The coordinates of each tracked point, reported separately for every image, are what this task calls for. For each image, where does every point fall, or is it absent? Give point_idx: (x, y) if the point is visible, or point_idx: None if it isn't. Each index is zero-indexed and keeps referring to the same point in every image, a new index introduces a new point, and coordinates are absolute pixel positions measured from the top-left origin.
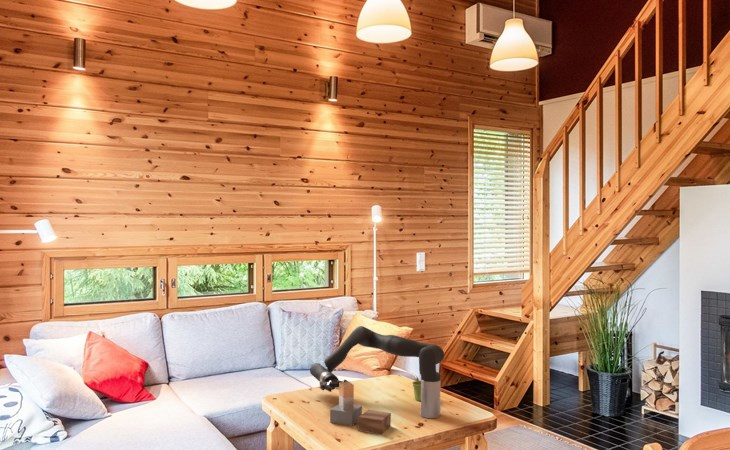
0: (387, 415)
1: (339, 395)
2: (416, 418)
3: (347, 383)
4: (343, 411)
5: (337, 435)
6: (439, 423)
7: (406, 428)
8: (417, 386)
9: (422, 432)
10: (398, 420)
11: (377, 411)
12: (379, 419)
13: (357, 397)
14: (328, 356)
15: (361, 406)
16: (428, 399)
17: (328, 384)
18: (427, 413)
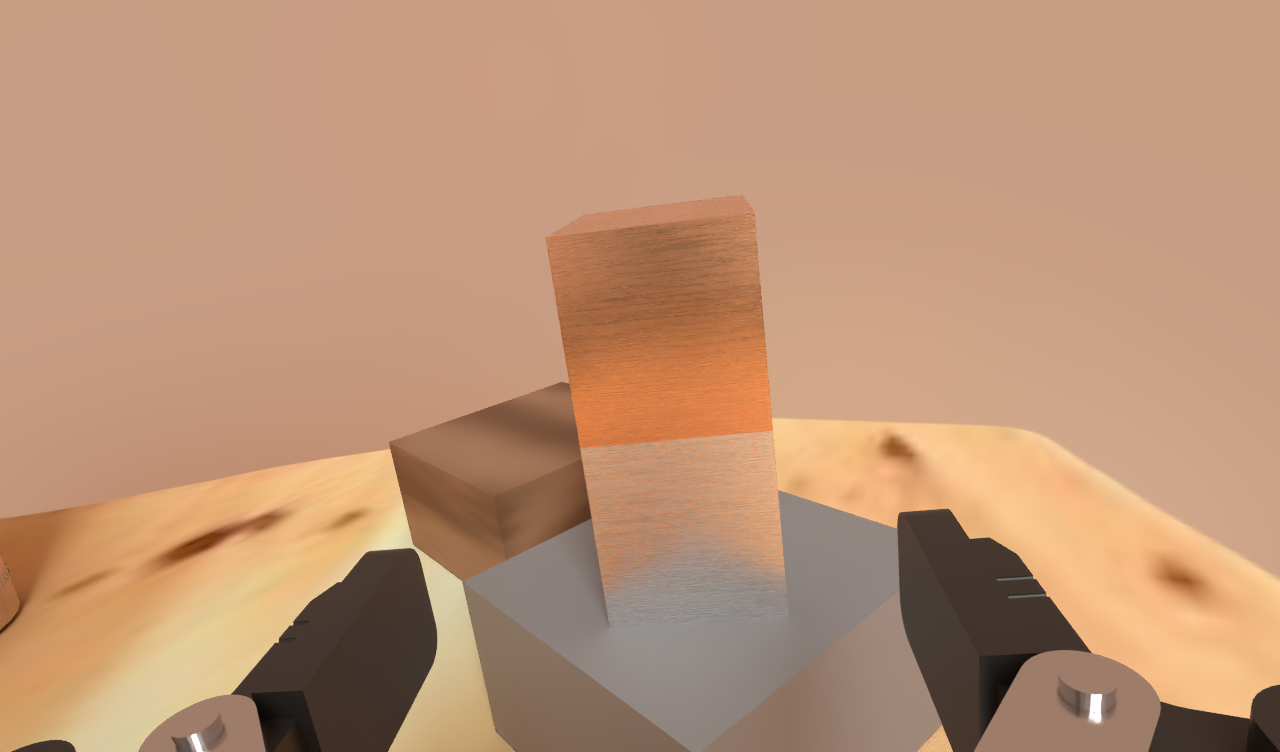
0: (455, 419)
1: (772, 434)
2: (72, 624)
3: (629, 217)
4: (780, 491)
5: (896, 485)
6: (98, 536)
7: (357, 510)
8: None
9: (340, 469)
10: (237, 617)
11: (453, 464)
12: (563, 388)
13: None
14: None
15: (477, 579)
16: None
17: (1016, 740)
18: (4, 567)
